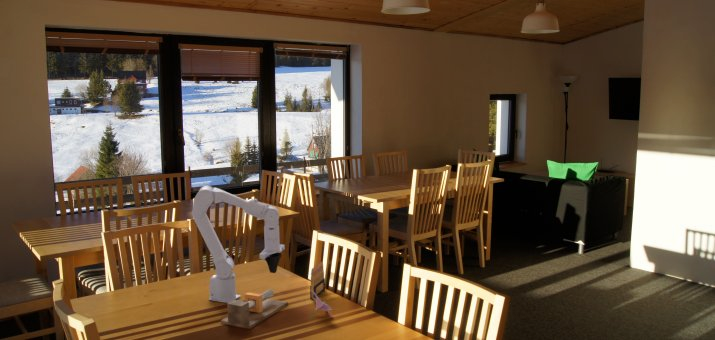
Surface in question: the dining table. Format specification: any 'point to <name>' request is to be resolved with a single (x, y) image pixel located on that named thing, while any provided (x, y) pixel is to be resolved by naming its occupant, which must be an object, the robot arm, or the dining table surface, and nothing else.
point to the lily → (321, 304)
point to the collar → (258, 298)
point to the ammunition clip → (317, 281)
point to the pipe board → (250, 313)
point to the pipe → (264, 297)
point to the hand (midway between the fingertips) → (273, 272)
